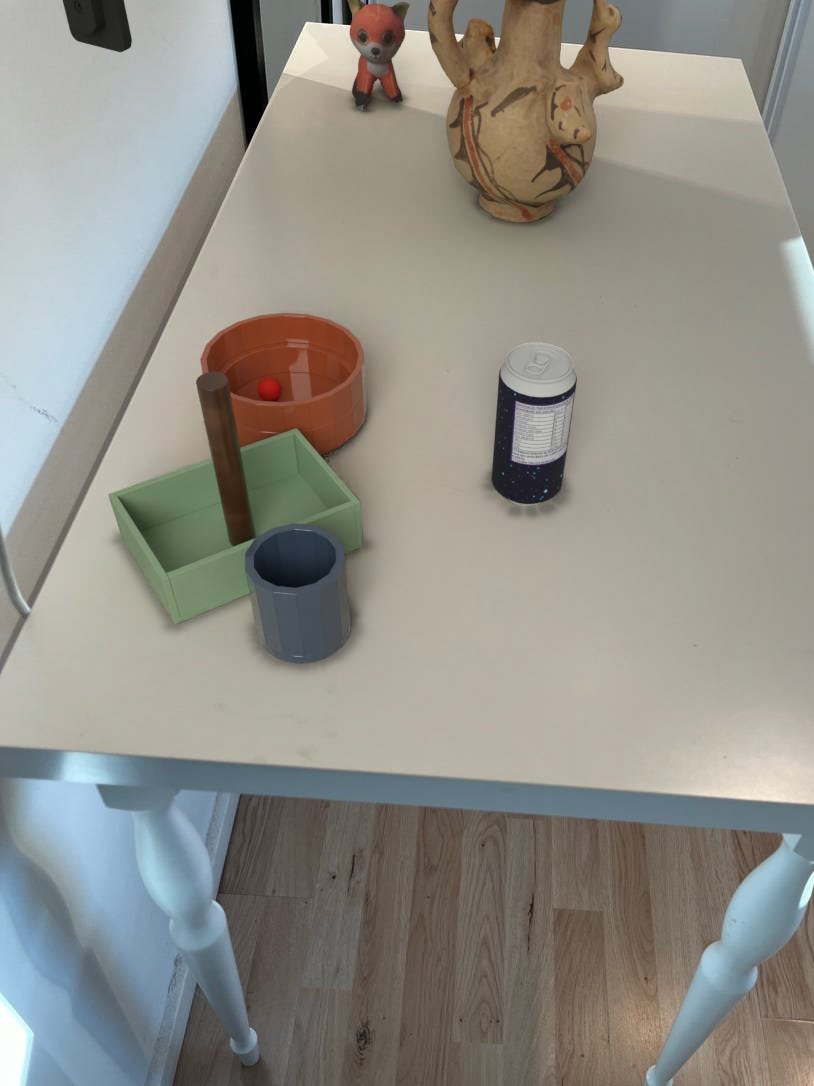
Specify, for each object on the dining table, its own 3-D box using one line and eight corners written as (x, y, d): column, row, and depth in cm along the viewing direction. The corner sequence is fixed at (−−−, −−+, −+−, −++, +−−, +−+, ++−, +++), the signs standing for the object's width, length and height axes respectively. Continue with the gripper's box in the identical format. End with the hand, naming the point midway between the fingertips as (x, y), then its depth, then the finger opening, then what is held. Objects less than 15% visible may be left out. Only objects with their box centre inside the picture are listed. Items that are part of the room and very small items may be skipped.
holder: (284, 678, 65) (272, 608, 60) (242, 616, 69) (227, 545, 63) (367, 640, 68) (363, 569, 63) (323, 582, 71) (315, 510, 66)
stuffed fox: (411, 81, 132) (410, -22, 123) (409, 116, 125) (409, 9, 115) (355, 79, 131) (350, -24, 122) (350, 114, 124) (344, 7, 115)
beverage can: (571, 479, 80) (590, 351, 71) (544, 521, 77) (561, 393, 67) (508, 458, 81) (519, 330, 72) (479, 498, 78) (487, 370, 69)
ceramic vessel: (575, 260, 103) (610, -14, 84) (404, 228, 106) (400, -45, 87) (609, 186, 114) (646, -69, 95) (454, 159, 117) (461, -95, 98)
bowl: (254, 486, 78) (243, 424, 73) (188, 400, 84) (175, 339, 80) (394, 434, 83) (393, 373, 78) (322, 357, 89) (316, 297, 85)
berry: (249, 392, 83) (265, 409, 83) (258, 375, 82) (275, 392, 82) (264, 387, 84) (279, 403, 84) (273, 370, 83) (289, 387, 83)
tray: (175, 624, 68) (161, 580, 65) (122, 539, 73) (107, 494, 70) (363, 546, 74) (360, 501, 70) (302, 472, 79) (296, 427, 76)
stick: (236, 551, 72) (203, 393, 61) (224, 535, 73) (190, 377, 62) (260, 542, 73) (233, 383, 62) (249, 526, 74) (219, 368, 63)
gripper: (143, -508, 42) (209, -42, 55) (-197, -524, 32) (-17, 53, 45) (290, -497, 40) (322, -17, 53) (-22, -510, 30) (113, 89, 43)
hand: (167, 15), depth 49 cm, fingers open, 9 cm apart
